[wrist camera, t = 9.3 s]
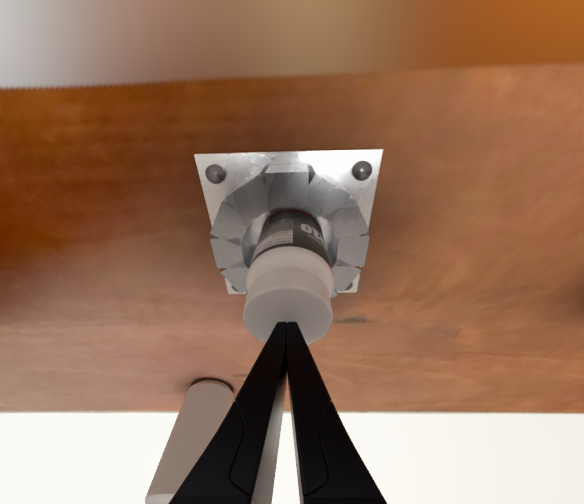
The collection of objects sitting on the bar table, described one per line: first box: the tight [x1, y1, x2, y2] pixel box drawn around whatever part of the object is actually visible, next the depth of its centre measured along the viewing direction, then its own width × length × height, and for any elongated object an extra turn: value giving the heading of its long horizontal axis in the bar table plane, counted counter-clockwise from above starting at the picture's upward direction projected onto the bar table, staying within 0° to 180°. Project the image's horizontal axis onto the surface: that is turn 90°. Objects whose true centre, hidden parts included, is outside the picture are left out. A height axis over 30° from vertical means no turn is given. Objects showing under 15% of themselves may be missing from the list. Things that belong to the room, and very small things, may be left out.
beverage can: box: [145, 380, 233, 504], centre depth 25 cm, size 6×6×12 cm
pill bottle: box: [243, 208, 334, 345], centre depth 13 cm, size 5×5×8 cm
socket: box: [194, 149, 383, 298], centre depth 16 cm, size 12×12×3 cm
